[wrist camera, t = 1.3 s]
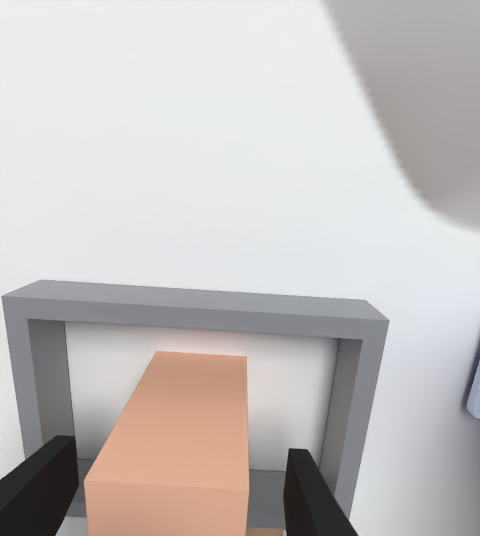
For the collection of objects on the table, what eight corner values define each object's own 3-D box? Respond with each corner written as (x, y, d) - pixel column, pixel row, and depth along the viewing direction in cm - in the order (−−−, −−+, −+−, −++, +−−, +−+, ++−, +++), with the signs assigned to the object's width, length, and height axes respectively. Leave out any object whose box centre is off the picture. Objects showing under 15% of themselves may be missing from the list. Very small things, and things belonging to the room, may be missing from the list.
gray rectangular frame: (365, 300, 12) (389, 320, 10) (332, 487, 14) (346, 533, 12) (40, 279, 12) (1, 296, 10) (61, 471, 14) (33, 514, 12)
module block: (246, 356, 13) (249, 490, 7) (240, 431, 14) (238, 603, 8) (156, 350, 13) (83, 480, 7) (157, 426, 14) (93, 595, 8)
